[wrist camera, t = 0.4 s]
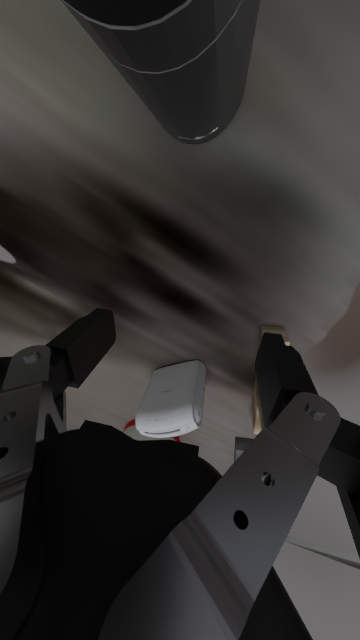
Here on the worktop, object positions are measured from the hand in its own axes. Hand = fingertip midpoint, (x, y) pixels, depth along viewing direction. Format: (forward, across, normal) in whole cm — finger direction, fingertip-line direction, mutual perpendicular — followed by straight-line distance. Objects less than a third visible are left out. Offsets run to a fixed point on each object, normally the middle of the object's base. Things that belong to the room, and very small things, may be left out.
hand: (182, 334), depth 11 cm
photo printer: (+19, +3, +22) cm, 29 cm away
